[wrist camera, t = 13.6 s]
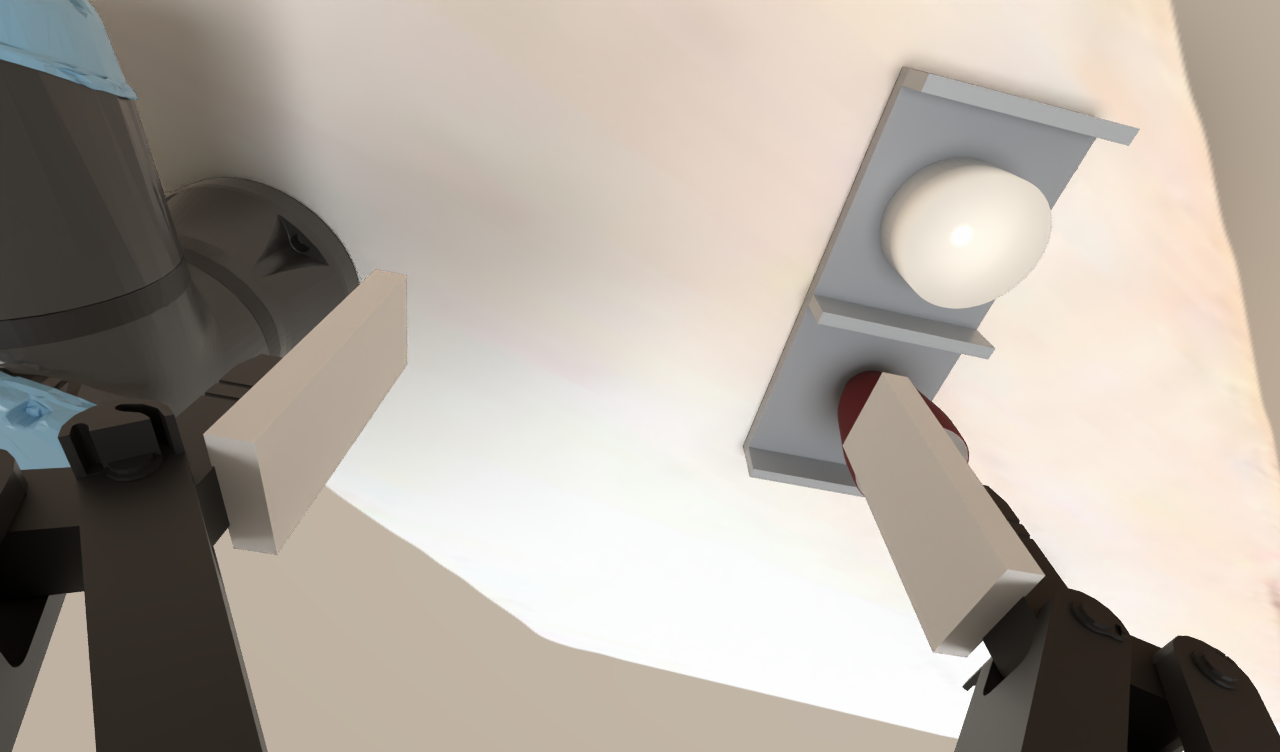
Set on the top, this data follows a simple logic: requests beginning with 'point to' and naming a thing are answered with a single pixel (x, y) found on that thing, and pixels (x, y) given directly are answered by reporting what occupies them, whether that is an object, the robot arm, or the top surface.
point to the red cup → (857, 398)
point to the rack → (873, 290)
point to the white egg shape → (965, 231)
